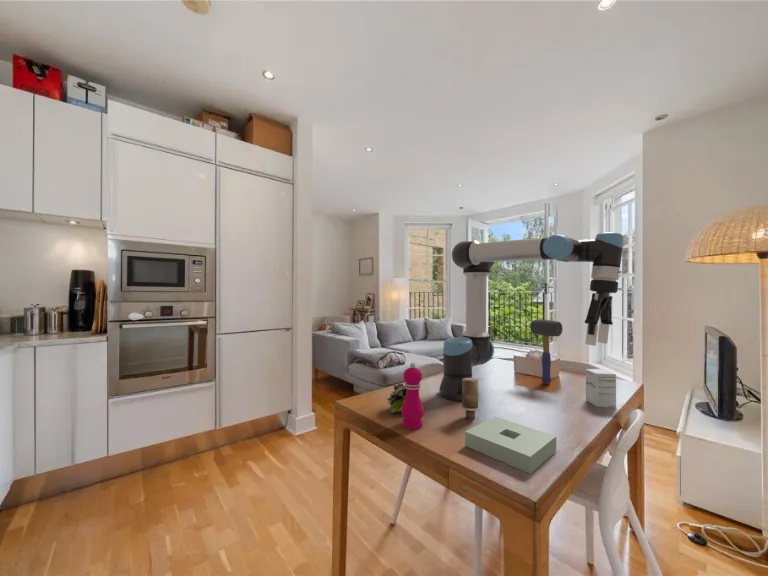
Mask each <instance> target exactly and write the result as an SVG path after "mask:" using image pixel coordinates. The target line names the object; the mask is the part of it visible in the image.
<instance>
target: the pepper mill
mask: <svg viewBox="0 0 768 576" xmlns="http://www.w3.org/2000/svg"><path fill="white" fill-rule="evenodd" d="M422 379H423V374H422V371H421V370H420V369H418V368H416V364H415V363H414V362H411V363H410V364H409V367H408V368H406V369H405V370H404V372H403V381H405V383H404V385H405V388H406V398H405V401H404V403H403V406H402V410H401V411H400V412H401V415H402V417H403V419H402V426H403V427H404V428H405V427H406V428H405V429H408V430H419V429H421V428H422V427H423V419H422V418H423V417H424V416H425V415H424V414H425V410H424V406H423V403H422V401H421V398H420V389H421V383H420V382H421V381H422Z"/></svg>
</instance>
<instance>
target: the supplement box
mask: <svg viewBox="0 0 768 576" xmlns="http://www.w3.org/2000/svg"><path fill="white" fill-rule="evenodd" d="M585 401H587V402H588V403H591V404H592V405H593V406H595V407H597V408H617V374H616V373H613V372H611V371H609V370H606V369H603V368H600V369H599V368H585Z"/></svg>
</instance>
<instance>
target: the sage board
mask: <svg viewBox="0 0 768 576" xmlns="http://www.w3.org/2000/svg"><path fill="white" fill-rule="evenodd" d="M464 446H465V447H466V448H469V449H471V450H474V451H476V452H477V453H481V454H483V455H486V456H488V457H490V458H492V459H495V460H497V461H500V462H502V463H503V464H507V465H509V466H512V467H513V468H516V469H518V470H521V471H523V472H525V473H528V474H530V475H531V474H532V473H534V471H535V470H537V469H538V468H539V467H540V466H541V465H543V464H544V462H546V461H547V460H548V459H549V458H550V457H551V456H553V455H552V454H555V453H556V452H557V436H556V435H553V434H550V433H548V432H544V431H542V430H539V429H538V430H537V429H535V428H531V427H528V426H526V425H522V424H519V423H516V422H513V421H510V420H507V419H504V418H501V417H497V416H492V417H491V418H489V419H487V420H485V421H483V422H481V423H479V424H477V425H475V426H473V427H471V428H469V429H467V430H466V431H465V432H464Z"/></svg>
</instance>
